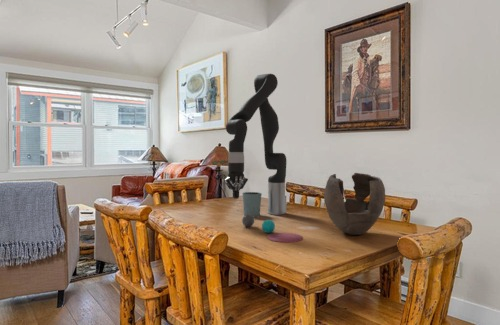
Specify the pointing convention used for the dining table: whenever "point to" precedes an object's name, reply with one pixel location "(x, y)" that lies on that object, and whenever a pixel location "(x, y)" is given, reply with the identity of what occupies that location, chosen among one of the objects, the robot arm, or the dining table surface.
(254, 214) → the drinking glass
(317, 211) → the dining table surface
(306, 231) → the dining table surface
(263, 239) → the dining table surface
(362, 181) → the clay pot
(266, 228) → the teal ball
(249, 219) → the gray ball
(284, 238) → the plum mark
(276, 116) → the robot arm
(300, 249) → the dining table surface
